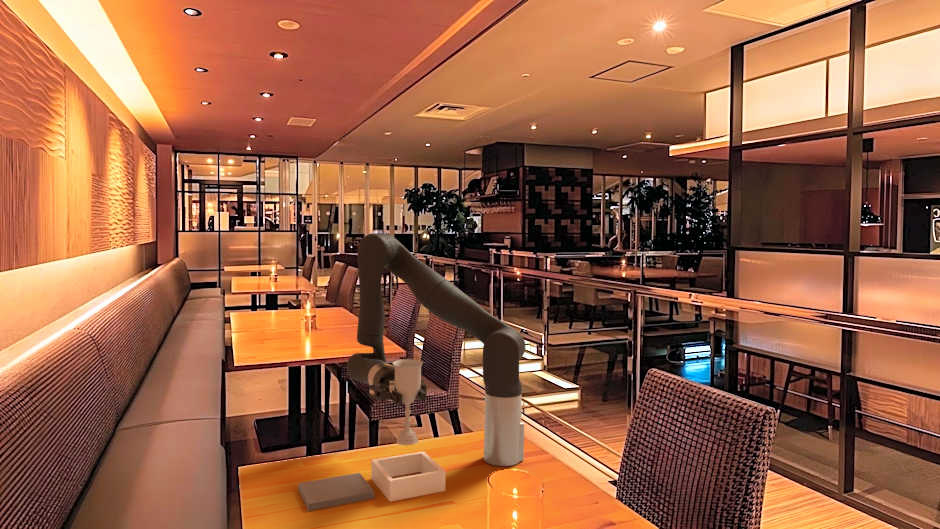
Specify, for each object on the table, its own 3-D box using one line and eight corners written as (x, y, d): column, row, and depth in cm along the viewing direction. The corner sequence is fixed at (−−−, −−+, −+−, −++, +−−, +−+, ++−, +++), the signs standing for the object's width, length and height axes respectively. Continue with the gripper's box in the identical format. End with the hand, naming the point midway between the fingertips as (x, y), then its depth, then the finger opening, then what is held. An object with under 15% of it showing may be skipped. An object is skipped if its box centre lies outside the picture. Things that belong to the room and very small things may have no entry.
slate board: (359, 479, 141) (359, 472, 141) (374, 498, 131) (374, 491, 131) (298, 489, 135) (297, 483, 135) (308, 511, 125) (308, 503, 125)
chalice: (417, 448, 133) (417, 367, 132) (387, 445, 135) (388, 365, 134) (426, 436, 141) (427, 360, 139) (398, 434, 142) (398, 358, 141)
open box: (423, 469, 147) (423, 451, 147) (445, 490, 135) (445, 471, 135) (371, 478, 141) (371, 459, 141) (389, 501, 130) (390, 481, 129)
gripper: (358, 368, 146) (381, 385, 131) (414, 362, 153) (441, 378, 137) (358, 398, 147) (381, 419, 132) (414, 392, 153) (441, 411, 138)
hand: (412, 398), depth 135 cm, fingers closed on chalice, 4 cm apart
